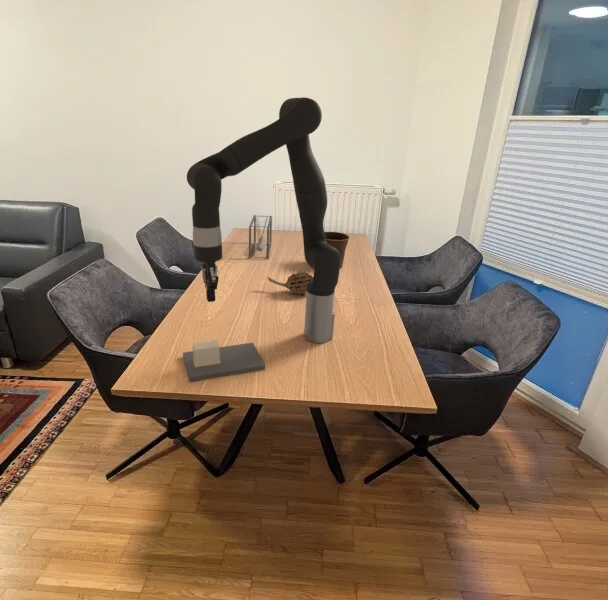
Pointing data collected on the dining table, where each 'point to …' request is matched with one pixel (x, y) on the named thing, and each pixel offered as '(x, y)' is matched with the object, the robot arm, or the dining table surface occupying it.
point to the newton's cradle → (261, 240)
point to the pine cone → (296, 282)
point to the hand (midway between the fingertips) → (211, 300)
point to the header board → (226, 362)
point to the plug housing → (206, 353)
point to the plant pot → (337, 243)
